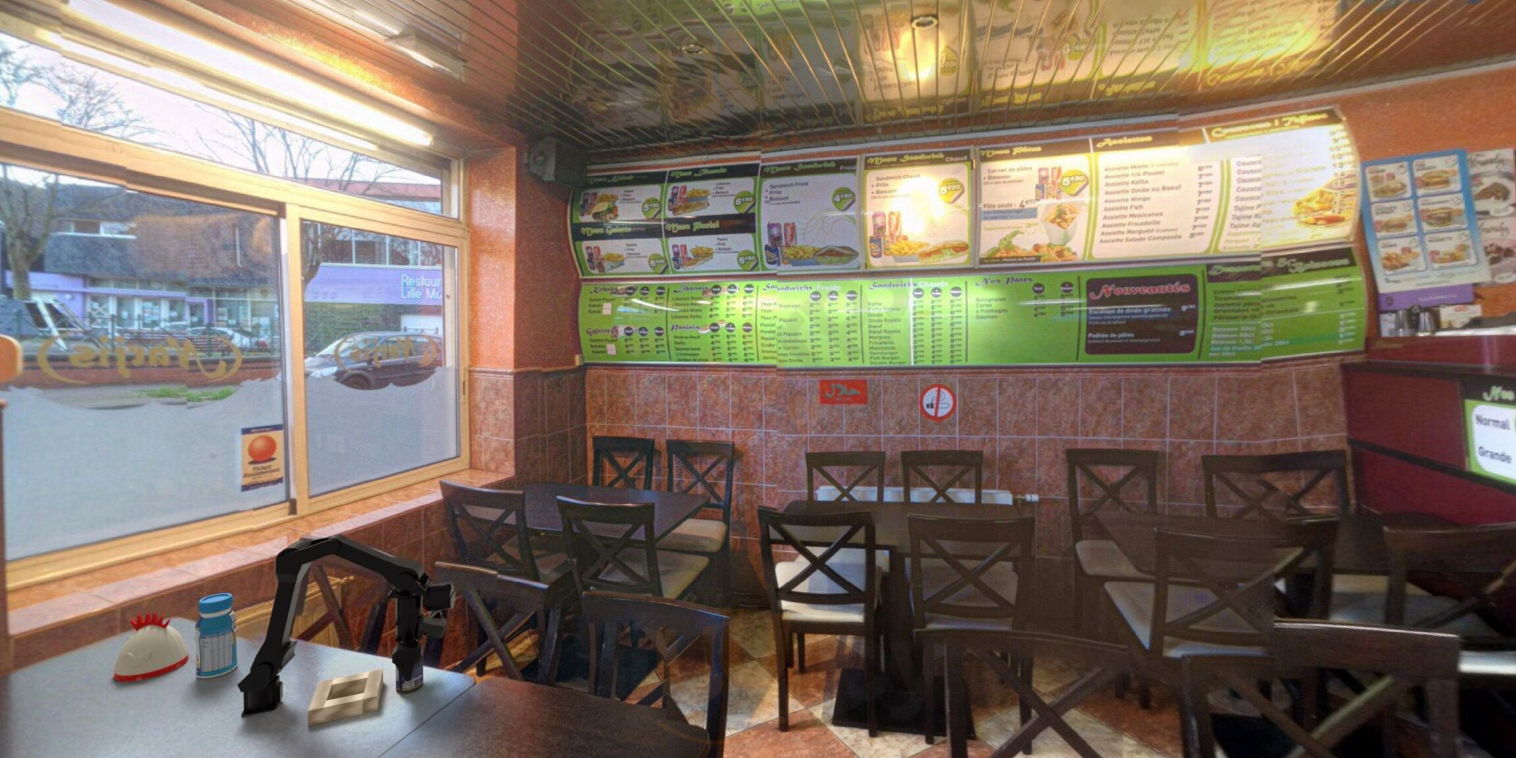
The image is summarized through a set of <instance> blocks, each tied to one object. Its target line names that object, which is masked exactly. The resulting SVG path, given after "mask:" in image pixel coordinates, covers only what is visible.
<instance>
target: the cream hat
mask: <svg viewBox="0 0 1516 758" xmlns="http://www.w3.org/2000/svg"><path fill="white" fill-rule="evenodd" d="M164 618H165V615H162V616H160V617H159V618H158V614H157V612H156V611H155V612H154V613H152V616H151V614H150V612H148V613H146V614H145V616H144V618H143V616H142V614H140V613H139V614H138V615H136V620H135V619H131V620H130V624H131V626H132V627H133V628H134V630H135V632H134V633H133V634H132V635H130V636H129V638H128V639H127V641H125V643H124V644H123V645H122V647H121V649H120V651H119V653H118V656H117V659H116V661H115V664H114V670H113V671H114V673H113V675H114V680H116V681H118V682H126V683H129V682H137V681H142V680H143V681H144V680H147V679H151V678H155V677H159V676H161V675H164V674H167V673H170V672H173V671H174V670H177V669H179V668H180V667H182V666H183V665H185V664H186V663H187V662H188V661H189V650H188V646H187V645H186V642H185V640H184V639H183V637H182V635H181V633H180V632H179V631H177V630H176V629H175V628H174V627H172V626H170V625H169V624H170V622H171V618H169V619H168V620H167V621H166V622H165V623H164V622H163V621H164Z"/></svg>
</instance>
